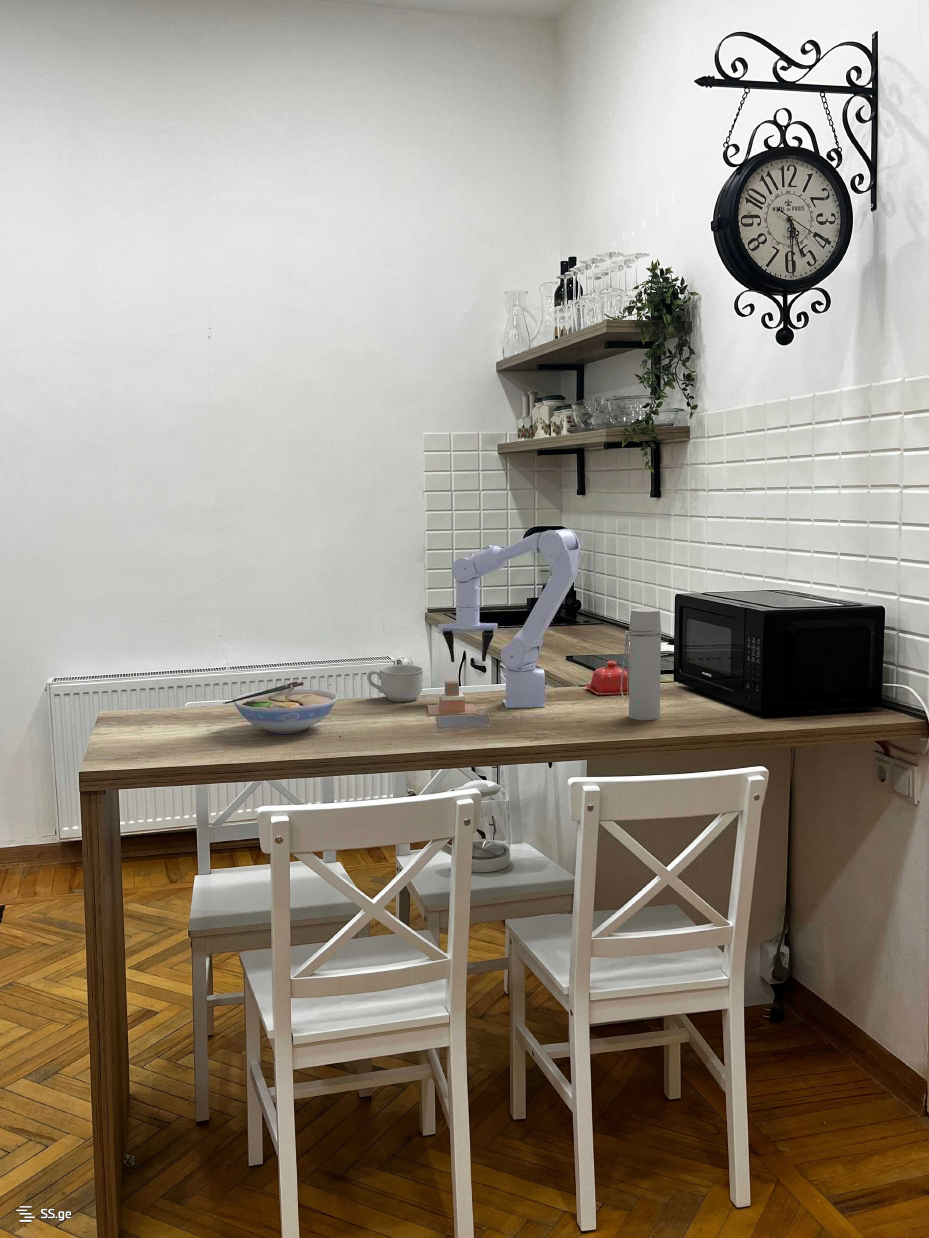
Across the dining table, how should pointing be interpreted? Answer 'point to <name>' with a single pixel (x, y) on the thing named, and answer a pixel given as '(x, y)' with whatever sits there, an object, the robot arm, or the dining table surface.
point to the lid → (452, 691)
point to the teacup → (399, 682)
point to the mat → (463, 721)
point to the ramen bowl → (285, 707)
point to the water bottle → (643, 664)
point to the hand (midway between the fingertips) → (468, 661)
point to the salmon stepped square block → (451, 708)
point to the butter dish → (608, 680)
